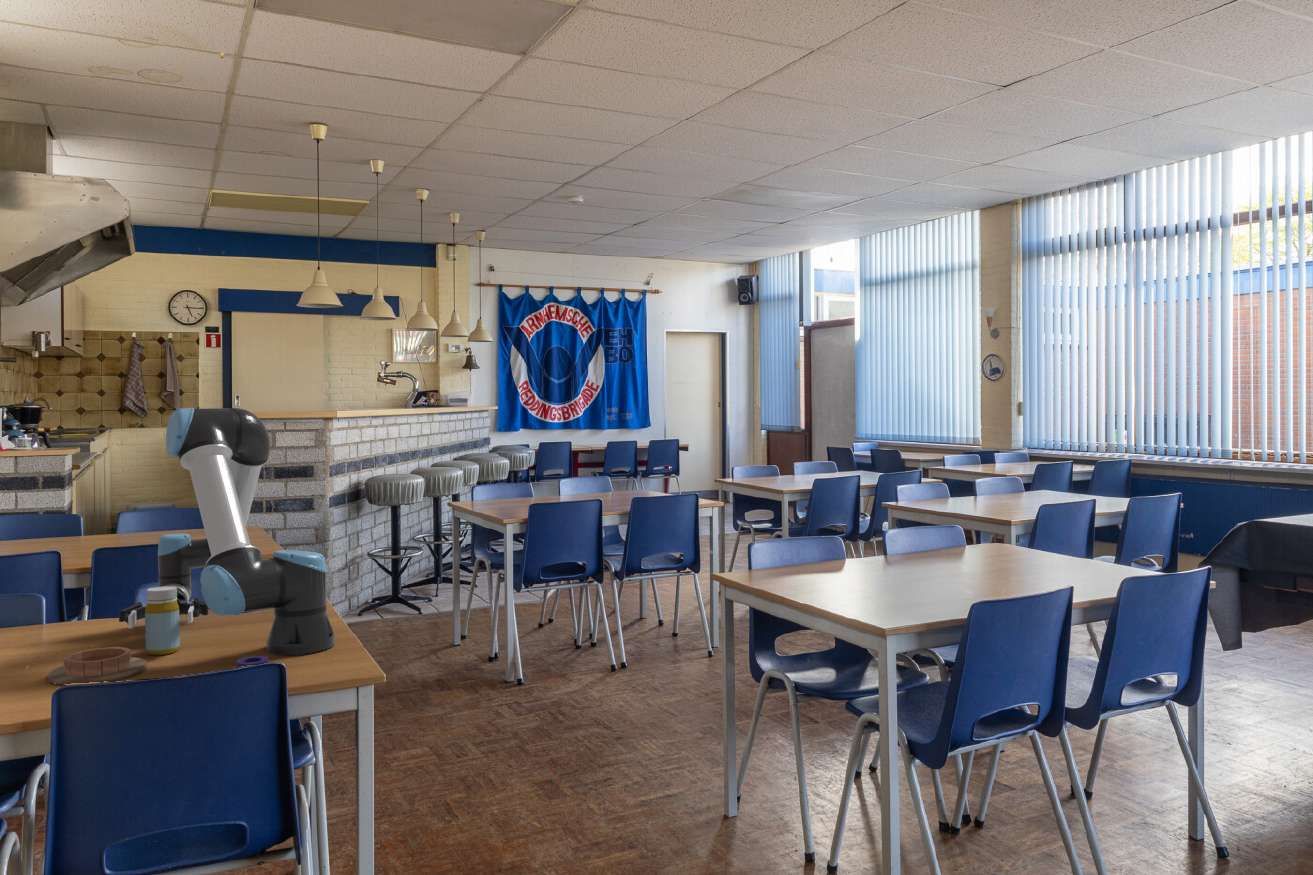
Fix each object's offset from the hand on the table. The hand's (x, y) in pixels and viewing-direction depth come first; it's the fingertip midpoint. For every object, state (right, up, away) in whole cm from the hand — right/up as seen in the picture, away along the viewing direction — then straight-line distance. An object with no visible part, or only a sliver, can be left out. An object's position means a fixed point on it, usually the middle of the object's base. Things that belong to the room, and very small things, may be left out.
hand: (160, 619), depth 205 cm
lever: (+26, -9, -15) cm, 32 cm away
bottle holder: (-6, -9, -13) cm, 17 cm away
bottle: (-2, -9, +4) cm, 10 cm away
